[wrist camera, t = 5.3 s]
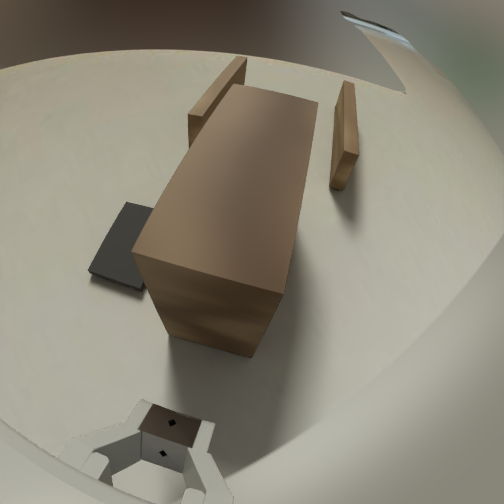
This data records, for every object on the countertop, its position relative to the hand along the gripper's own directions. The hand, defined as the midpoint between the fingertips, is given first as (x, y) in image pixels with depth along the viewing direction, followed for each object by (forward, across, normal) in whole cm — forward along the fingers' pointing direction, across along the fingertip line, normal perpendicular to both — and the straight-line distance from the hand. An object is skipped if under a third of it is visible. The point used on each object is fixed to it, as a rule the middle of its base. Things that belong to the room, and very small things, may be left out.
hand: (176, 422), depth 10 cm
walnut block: (+11, 0, -4) cm, 12 cm away
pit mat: (+10, +7, -3) cm, 13 cm away
